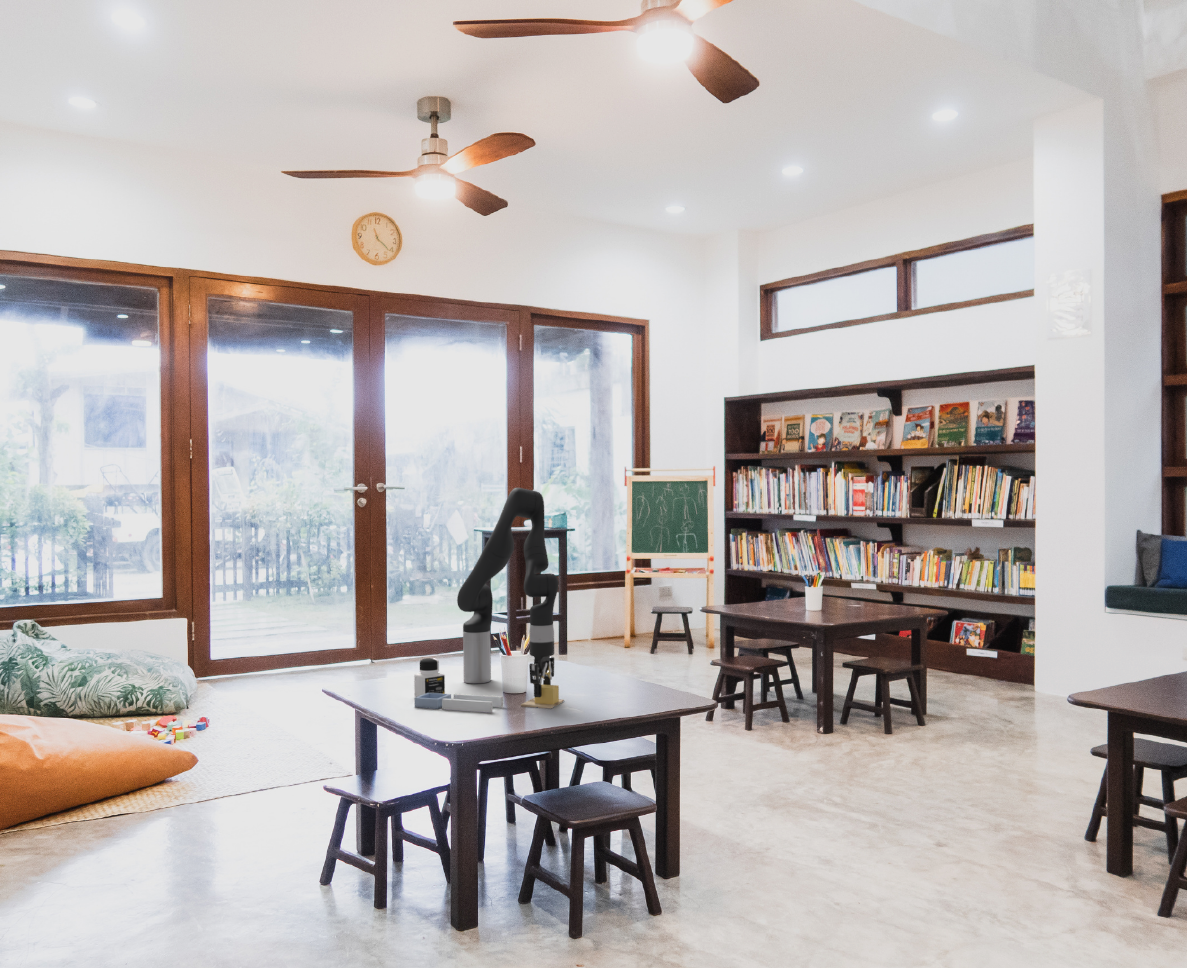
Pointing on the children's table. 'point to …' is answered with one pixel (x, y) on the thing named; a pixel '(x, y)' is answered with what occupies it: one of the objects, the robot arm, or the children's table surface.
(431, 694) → the bin
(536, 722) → the children's table surface
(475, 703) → the frosted channel
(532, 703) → the cork pad
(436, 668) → the medicine bottle
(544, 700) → the ochre block
